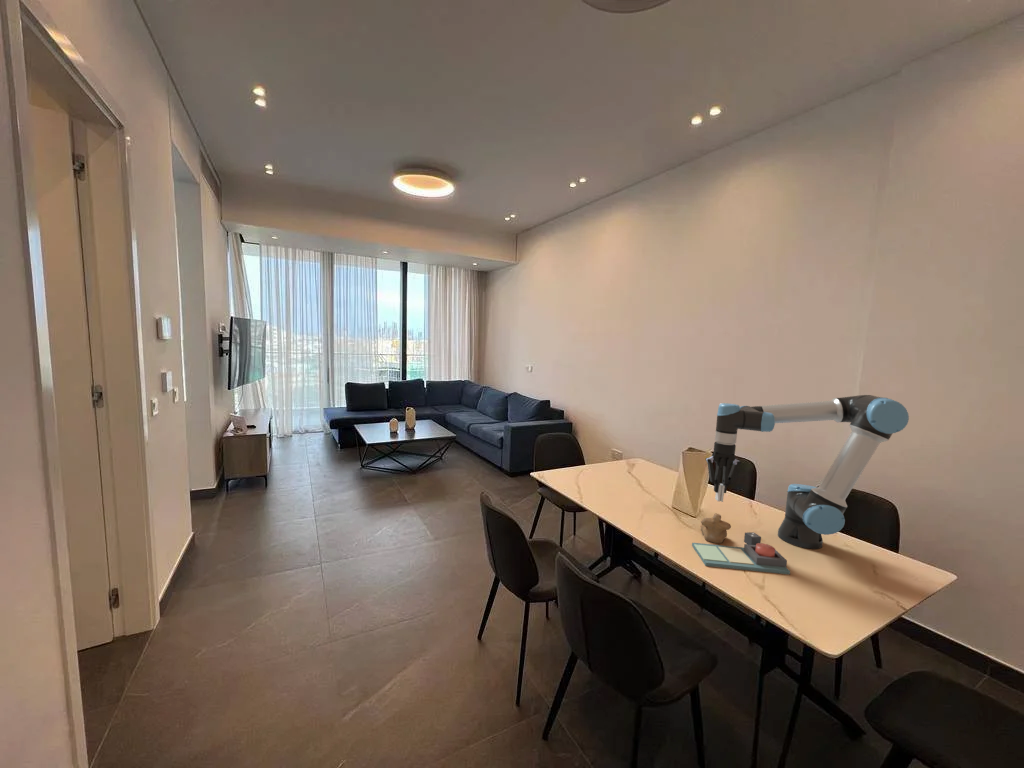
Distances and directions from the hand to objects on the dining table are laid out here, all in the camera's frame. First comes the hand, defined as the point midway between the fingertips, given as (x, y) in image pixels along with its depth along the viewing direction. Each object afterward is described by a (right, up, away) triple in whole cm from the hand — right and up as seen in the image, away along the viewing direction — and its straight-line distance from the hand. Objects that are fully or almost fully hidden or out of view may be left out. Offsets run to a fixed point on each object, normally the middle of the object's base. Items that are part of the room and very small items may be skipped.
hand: (719, 500), depth 164 cm
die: (+13, -17, 0) cm, 22 cm away
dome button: (+9, -17, -14) cm, 24 cm away
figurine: (-1, -17, +2) cm, 17 cm away
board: (0, -18, -13) cm, 22 cm away
